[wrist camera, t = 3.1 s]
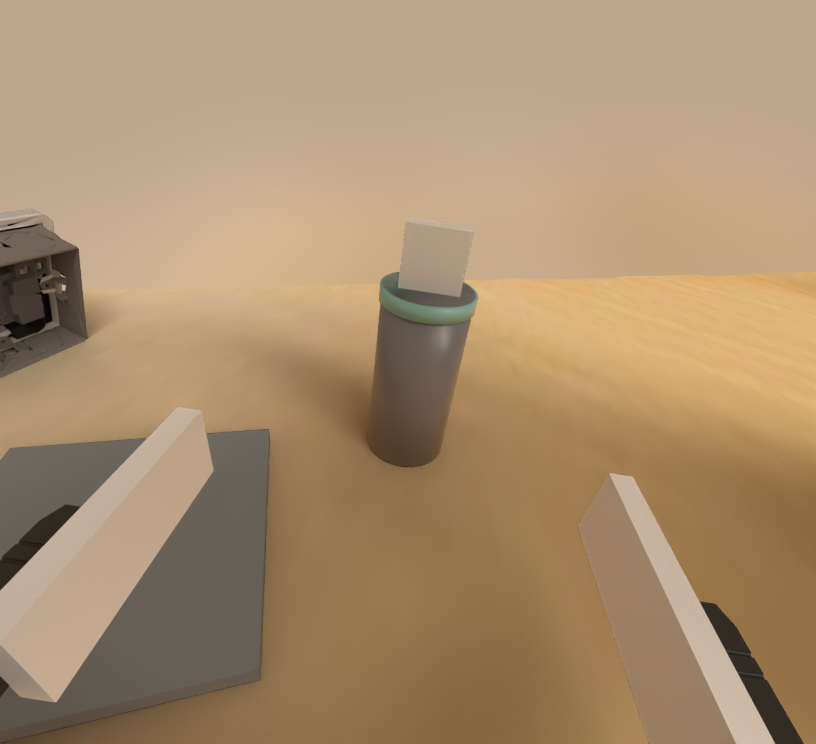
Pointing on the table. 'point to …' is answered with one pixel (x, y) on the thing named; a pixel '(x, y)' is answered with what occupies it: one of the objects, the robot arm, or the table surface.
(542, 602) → the table surface
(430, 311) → the trash can
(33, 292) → the electrical switch
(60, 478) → the pad
